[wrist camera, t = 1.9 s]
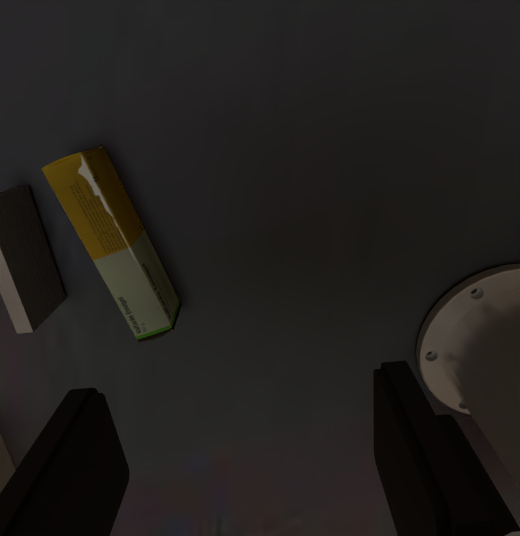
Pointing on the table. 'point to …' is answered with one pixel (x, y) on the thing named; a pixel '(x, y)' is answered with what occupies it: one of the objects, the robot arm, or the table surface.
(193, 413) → the table surface
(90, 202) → the medication box
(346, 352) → the table surface
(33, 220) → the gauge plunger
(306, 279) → the table surface
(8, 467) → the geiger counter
